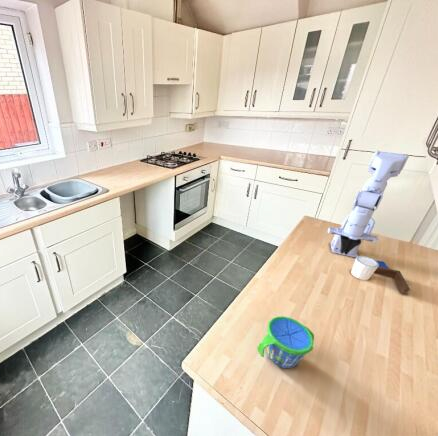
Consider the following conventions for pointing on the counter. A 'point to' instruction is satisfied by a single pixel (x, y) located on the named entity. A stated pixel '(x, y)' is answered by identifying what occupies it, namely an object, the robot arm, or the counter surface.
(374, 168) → the robot arm
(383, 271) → the corner guard
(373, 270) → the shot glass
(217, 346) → the counter surface
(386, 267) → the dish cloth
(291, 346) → the snack cup
